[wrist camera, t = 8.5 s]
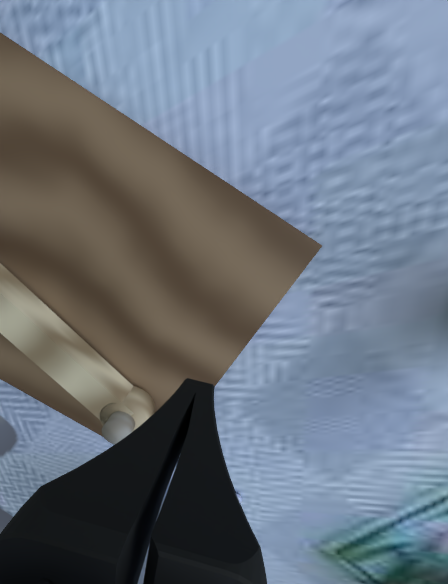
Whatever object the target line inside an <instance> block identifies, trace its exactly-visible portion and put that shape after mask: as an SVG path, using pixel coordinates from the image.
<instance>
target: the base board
mask: <svg viewBox="0 0 448 584" xmlns="http://www.w3.org/2000/svg"><path fill="white" fill-rule="evenodd" d="M321 247H322V245H320V244H319V243H317V242H316V241H314V240H313V239H311V238H310V237H308V236H307V235H305V234H304V233H302V232H301V231H299V230H298V229H296V228H295V227H293V226H292V225H290V224H289V223H287V222H286V221H284V220H283V219H281V218H280V217H278V216H277V215H275V214H274V213H272V212H271V211H269V210H267V209H266V208H264V207H263V206H261V205H260V204H258V203H257V202H255V201H254V200H252V199H251V198H249V197H248V196H246V195H245V194H243V193H242V192H240V191H239V190H237V189H236V188H234V187H233V186H231V185H230V184H228V183H227V182H225V181H224V180H222V179H221V178H219V177H218V176H216V175H215V174H213V173H212V172H210V171H209V170H207V169H206V168H204V167H203V166H201V165H199V164H198V163H196V162H195V161H193V160H192V159H190V158H189V157H187V156H186V155H184V154H183V153H181V152H180V151H178V150H177V149H175V148H174V147H172V146H171V145H169V144H168V143H166V142H165V141H163V140H162V139H160V138H159V137H157V136H156V135H154V134H153V133H151V132H150V131H148V130H147V129H145V128H144V127H142V126H141V125H139V124H138V123H136V122H135V121H133V120H132V119H130V118H128V117H127V116H125V115H124V114H122V113H121V112H119V111H118V110H116V109H115V108H113V107H112V106H110V105H109V104H107V103H106V102H104V101H103V100H101V99H100V98H98V97H97V96H95V95H94V94H92V93H91V92H89V91H88V90H86V89H85V88H83V87H82V86H80V85H79V84H77V83H76V82H74V81H73V80H71V79H70V78H68V77H67V76H65V75H64V74H62V73H61V72H59V71H57V70H56V69H54V68H53V67H51V66H50V65H48V64H47V63H45V62H44V61H42V60H41V59H39V58H38V57H36V56H35V55H33V54H32V53H30V52H29V51H27V50H26V49H24V48H23V47H21V46H20V45H18V44H17V43H15V42H14V41H12V40H11V39H9V38H8V37H6V36H5V35H3V34H2V33H0V263H1V264H2V265H3V266H4V267H5V268H6V269H7V270H8V271H9V272H10V273H12V274H13V275H14V276H15V277H16V278H17V279H18V280H19V281H20V282H21V283H22V284H23V285H25V286H26V287H27V288H28V289H29V290H30V291H31V292H32V293H33V294H34V295H35V296H36V297H38V298H39V299H40V300H41V301H42V302H43V303H44V304H45V305H46V306H47V307H48V308H49V309H51V310H52V311H53V312H54V313H55V314H56V315H57V316H58V317H59V318H60V319H61V320H62V321H64V322H65V323H66V324H67V325H68V326H69V327H70V328H71V329H72V330H73V331H74V332H75V333H76V334H78V335H79V336H80V337H81V338H82V339H83V340H84V341H85V342H86V343H87V344H88V345H89V346H91V347H92V348H93V349H94V350H95V351H96V352H97V353H98V354H99V355H100V356H101V357H102V358H104V359H105V360H106V361H107V362H108V363H109V364H110V365H111V366H112V367H113V368H114V369H115V370H117V371H118V372H119V373H120V374H121V375H122V376H123V377H124V378H125V379H126V380H127V381H128V382H130V383H131V384H132V385H133V386H135V387H138V388H141V389H143V390H144V391H146V392H147V393H148V394H149V395H150V396H151V397H152V399H153V401H154V404H155V412H156V411H157V410H158V409H159V408H160V407H161V406H162V405H163V404H164V403H165V402H166V401H167V400H168V399H169V398H170V397H171V396H172V395H173V394H174V393H175V391H176V390H177V389H178V388H179V387H180V385H181V384H182V383H183V381H184V380H185V379H187V378H190V379H194V380H198V381H202V382H206V383H210V384H213V385H214V387H215V385H216V384H217V383H218V381H219V380H220V379H221V378H222V376H223V375H224V374H225V372H226V371H227V370H228V368H229V367H230V366H231V364H232V363H233V362H234V361H235V359H236V358H237V357H238V355H239V354H240V353H241V351H242V350H243V349H244V347H245V346H246V345H247V344H248V342H249V341H250V340H251V338H252V337H253V336H254V334H255V333H256V332H257V330H258V329H259V328H260V327H261V325H262V324H263V323H264V321H265V320H266V319H267V317H268V316H269V315H270V313H271V312H272V311H273V310H274V308H275V307H276V306H277V304H278V303H279V302H280V300H281V299H282V298H283V296H284V295H285V294H286V293H287V291H288V290H289V289H290V287H291V286H292V285H293V283H294V282H295V281H296V279H297V278H298V277H299V276H300V274H301V273H302V272H303V270H304V269H305V268H306V266H307V265H308V264H309V262H310V261H311V260H312V259H313V257H314V256H315V255H316V253H317V252H318V251H319V249H320V248H321ZM0 379H1V380H3V381H5V382H7V383H8V384H10V385H12V386H14V387H16V388H17V389H19V390H21V391H23V392H24V393H26V394H28V395H30V396H32V397H33V398H35V399H37V400H39V401H40V402H42V403H44V404H46V405H48V406H49V407H51V408H53V409H55V410H56V411H58V412H60V413H62V414H64V415H65V416H67V417H69V418H71V419H72V420H74V421H76V422H78V423H80V424H81V425H83V426H85V427H87V428H88V429H90V430H92V431H94V432H96V433H97V434H99V435H101V436H103V435H102V427H103V426H102V424H101V422H100V419H98V418H97V417H96V416H95V415H94V414H93V413H92V412H90V411H89V410H88V409H87V408H86V407H85V406H84V405H82V404H81V403H80V402H79V401H78V400H77V399H75V398H74V397H73V396H72V395H71V394H70V393H69V392H67V391H66V390H65V389H64V388H63V387H62V386H61V385H59V384H58V383H57V382H56V381H55V380H54V379H53V378H51V377H50V376H49V375H48V374H47V373H46V372H44V371H43V370H42V369H41V368H40V367H39V366H38V365H36V364H35V363H34V362H33V361H32V360H31V359H30V358H28V357H27V356H26V355H25V354H24V353H23V352H22V351H20V350H19V349H18V348H17V347H16V346H15V345H14V344H12V343H11V342H10V341H9V340H8V339H7V338H5V337H4V336H3V335H2V334H1V333H0ZM155 412H154V413H155Z"/></svg>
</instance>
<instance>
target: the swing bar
mask: <svg viewBox="0 0 448 584" xmlns="http://www.w3.org/2000/svg"><path fill="white" fill-rule="evenodd" d="M0 333H1V334H2V335H3V336H4V337H5V338H7V339H8V340H9V341H10V342H11V343H12V344H14V345H15V346H16V347H17V348H18V349H19V350H20V351H22V352H23V353H24V354H25V355H26V356H27V357H28V358H30V359H31V360H32V361H33V362H34V363H35V364H36V365H38V366H39V367H40V368H41V369H42V370H43V371H44V372H46V373H47V374H48V375H49V376H50V377H51V378H53V379H54V380H55V381H56V382H57V383H58V384H59V385H61V386H62V387H63V388H64V389H65V390H66V391H67V392H69V393H70V394H71V395H72V396H73V397H74V398H75V399H77V400H78V401H79V402H80V403H81V404H82V405H84V406H85V407H86V408H87V409H88V410H89V411H90V412H92V413H93V414H94V415H95V416H96V417H97V418H98V419H100V422H101V424H102V426H103V427H102V435H103V437H104V438H105V439H106V440H107V441H108V442H110V443H112V444H116V443H118V442H119V441H121V440H122V439H123V438H125V437H126V436H128V435H129V434H130V433H132V432H133V431H134V430H135V429H137V428H138V427H139V426H140V425H142V424H143V423H144V422H145V421H146V420H147V419H148V418H150V417H151V416H152V415H153V414H154V412H155V404H154V401H153V399H152V397H151V396H150V395H149V394H148V393H147V392H146V391H144V390H143V389H141V388H138V387H135V386H133V385H132V384H131V383H130V382H128V381H127V380H126V379H125V378H124V377H123V376H122V375H121V374H120V373H119V372H118V371H117V370H115V369H114V368H113V367H112V366H111V365H110V364H109V363H108V362H107V361H106V360H105V359H104V358H102V357H101V356H100V355H99V354H98V353H97V352H96V351H95V350H94V349H93V348H92V347H91V346H89V345H88V344H87V343H86V342H85V341H84V340H83V339H82V338H81V337H80V336H79V335H78V334H76V333H75V332H74V331H73V330H72V329H71V328H70V327H69V326H68V325H67V324H66V323H65V322H64V321H62V320H61V319H60V318H59V317H58V316H57V315H56V314H55V313H54V312H53V311H52V310H51V309H49V308H48V307H47V306H46V305H45V304H44V303H43V302H42V301H41V300H40V299H39V298H38V297H36V296H35V295H34V294H33V293H32V292H31V291H30V290H29V289H28V288H27V287H26V286H25V285H23V284H22V283H21V282H20V281H19V280H18V279H17V278H16V277H15V276H14V275H13V274H12V273H10V272H9V271H8V270H7V269H6V268H5V267H4V266H3V265H2V264H1V263H0Z"/></svg>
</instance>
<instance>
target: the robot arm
mask: <svg viewBox="0 0 448 584" xmlns="http://www.w3.org/2000/svg"><path fill="white" fill-rule="evenodd" d="M214 388H215V387H214V385H213V384H210V383H206V382H202V381H198V380H194V379H190V378H187V379H185V380H184V381H183V383H182V384H181V385H180V387H179V388H178V389H177V390H176V391H175V393H174V394H173V395H172V396H171V397H170V398H169V399H168V400H167V401H166V402H165V403H164V404H163V405H162V406H161V407H160V408H159V409H158V410H157V411H156V412H155V413H154V414H153V415H152V416H151V417H150V418H148V419H147V420H146V421H145V422H144V423H143V424H142V425H140V426H139V427H138V428H137V429H135V430H134V431H133V432H132V433H130V434H129V435H128V436H126V437H125V438H123V439H122V440H121V441H119V442H118V443H116V444H115V445H114V446H112V447H111V448H109V449H108V450H106V451H105V452H103V453H101V454H100V455H98V456H96V457H95V458H93V459H91V460H90V461H88V462H86V463H85V464H83V465H81V466H80V467H78V468H76V469H74V470H72V471H70V472H68V473H66V474H64V475H63V476H61V477H59V478H57V479H55V480H53V481H51V482H49V483H47V484H45V485H43V486H41V487H40V488H39V489H38V490H37V491H36V492H35V493H34V494H33V495H32V496H31V497H30V499H29V500H28V501H27V502H26V503H25V504H24V505H23V506H22V507H21V508H20V509H19V511H18V512H17V513H16V514H15V516H14V517H13V518H12V520H11V521H10V522H9V523H8V525H7V526H6V527H5V529H4V530H3V531H2V532H1V534H0V584H267V579H266V573H265V567H264V562H263V557H262V552H261V548H260V545H259V543H258V541H257V539H256V537H255V535H254V533H253V531H252V529H251V527H250V525H249V523H248V521H247V519H246V516H245V514H244V512H243V509H242V507H241V505H240V504H241V503H242V497H241V496H240V495H238V494H237V493H236V492H235V489H234V487H233V484H232V481H231V479H230V476H229V473H228V470H227V467H226V463H225V460H224V456H223V453H222V449H221V445H220V441H219V436H218V431H217V425H216V418H215V410H214ZM179 456H180V457H179ZM178 459H179V460H178ZM177 461H178V463H177Z"/></svg>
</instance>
